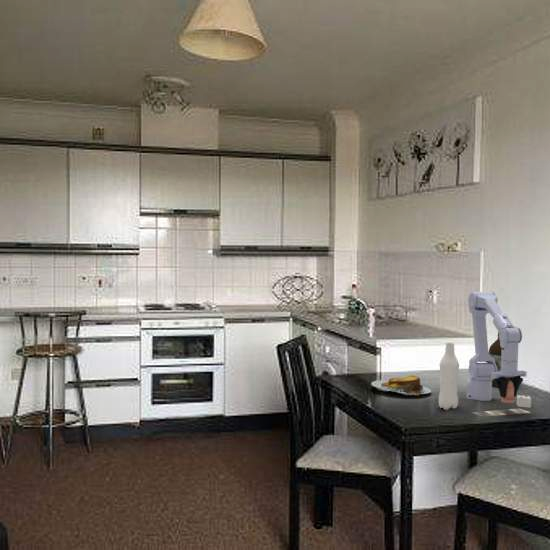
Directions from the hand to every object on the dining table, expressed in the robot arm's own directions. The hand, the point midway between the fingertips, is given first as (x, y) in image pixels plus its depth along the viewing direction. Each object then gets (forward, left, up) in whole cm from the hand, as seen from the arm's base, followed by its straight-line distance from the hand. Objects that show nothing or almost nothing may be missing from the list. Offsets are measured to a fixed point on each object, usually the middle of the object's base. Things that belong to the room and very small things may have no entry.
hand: (508, 396), depth 225 cm
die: (+4, +13, -7) cm, 16 cm away
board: (-2, -2, -7) cm, 7 cm away
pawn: (0, 0, -2) cm, 2 cm away
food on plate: (-45, +15, -7) cm, 48 cm away
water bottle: (-21, -4, -7) cm, 22 cm away
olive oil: (-10, +50, -7) cm, 52 cm away
